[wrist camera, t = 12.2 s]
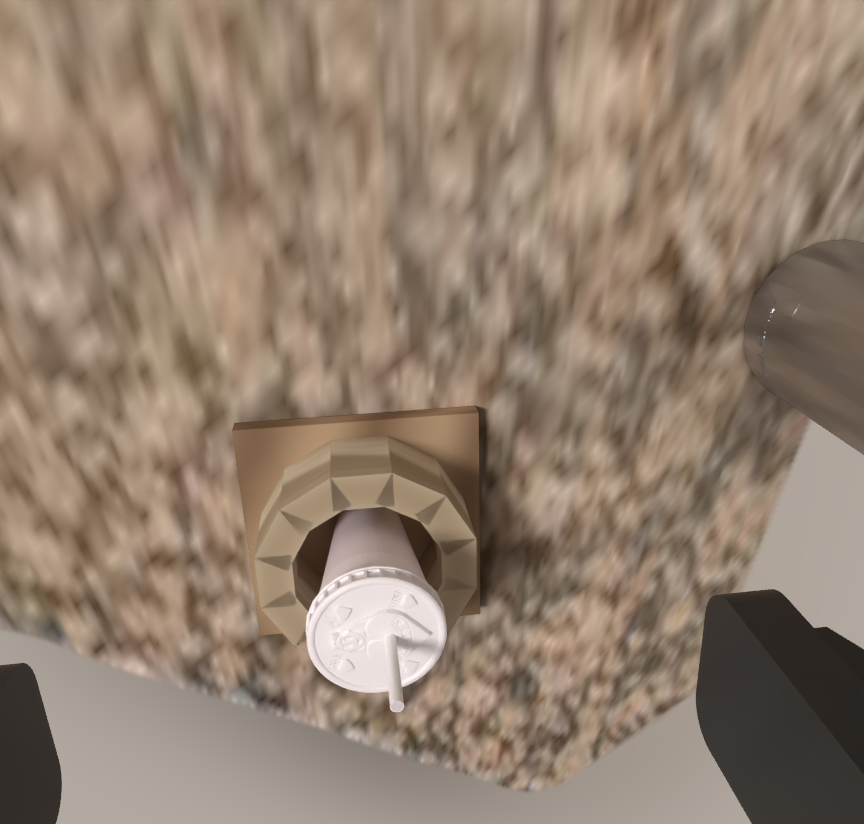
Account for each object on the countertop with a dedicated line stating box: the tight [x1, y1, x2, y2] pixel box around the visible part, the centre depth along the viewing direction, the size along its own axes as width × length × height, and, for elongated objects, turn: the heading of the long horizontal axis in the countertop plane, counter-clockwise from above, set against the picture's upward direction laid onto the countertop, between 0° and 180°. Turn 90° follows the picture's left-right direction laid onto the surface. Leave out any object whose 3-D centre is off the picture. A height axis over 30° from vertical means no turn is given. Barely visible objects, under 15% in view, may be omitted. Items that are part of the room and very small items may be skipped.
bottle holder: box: [232, 406, 480, 651], centre depth 43 cm, size 13×13×6 cm
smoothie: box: [305, 507, 447, 712], centre depth 38 cm, size 6×6×14 cm
